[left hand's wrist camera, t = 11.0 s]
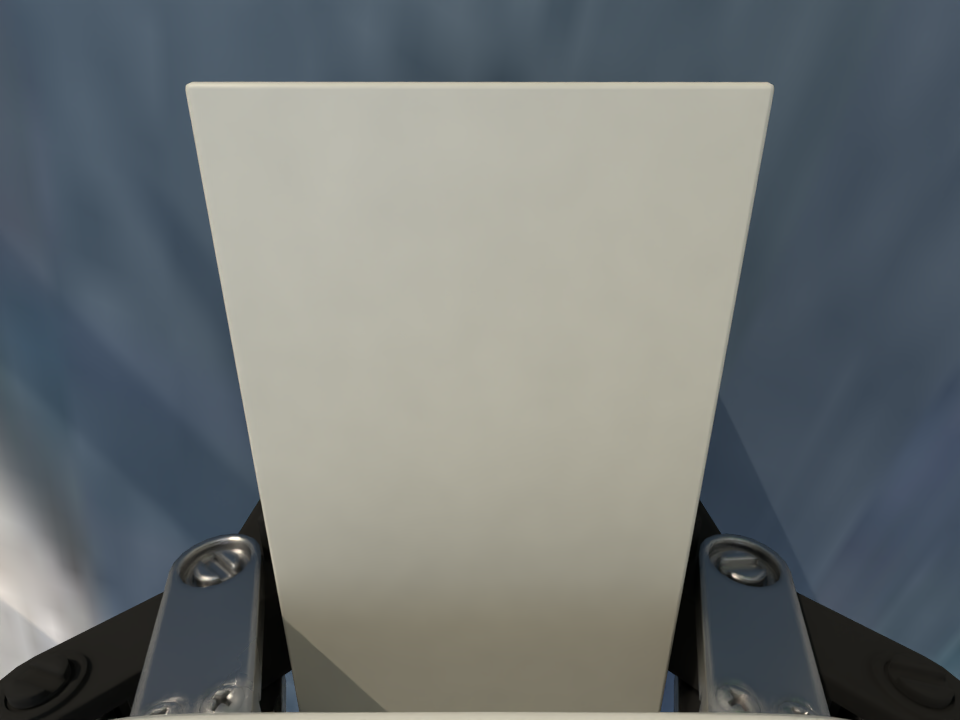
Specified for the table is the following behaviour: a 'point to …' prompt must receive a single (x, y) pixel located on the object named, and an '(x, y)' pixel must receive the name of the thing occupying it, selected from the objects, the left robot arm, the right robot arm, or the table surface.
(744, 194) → the post
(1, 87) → the table surface
